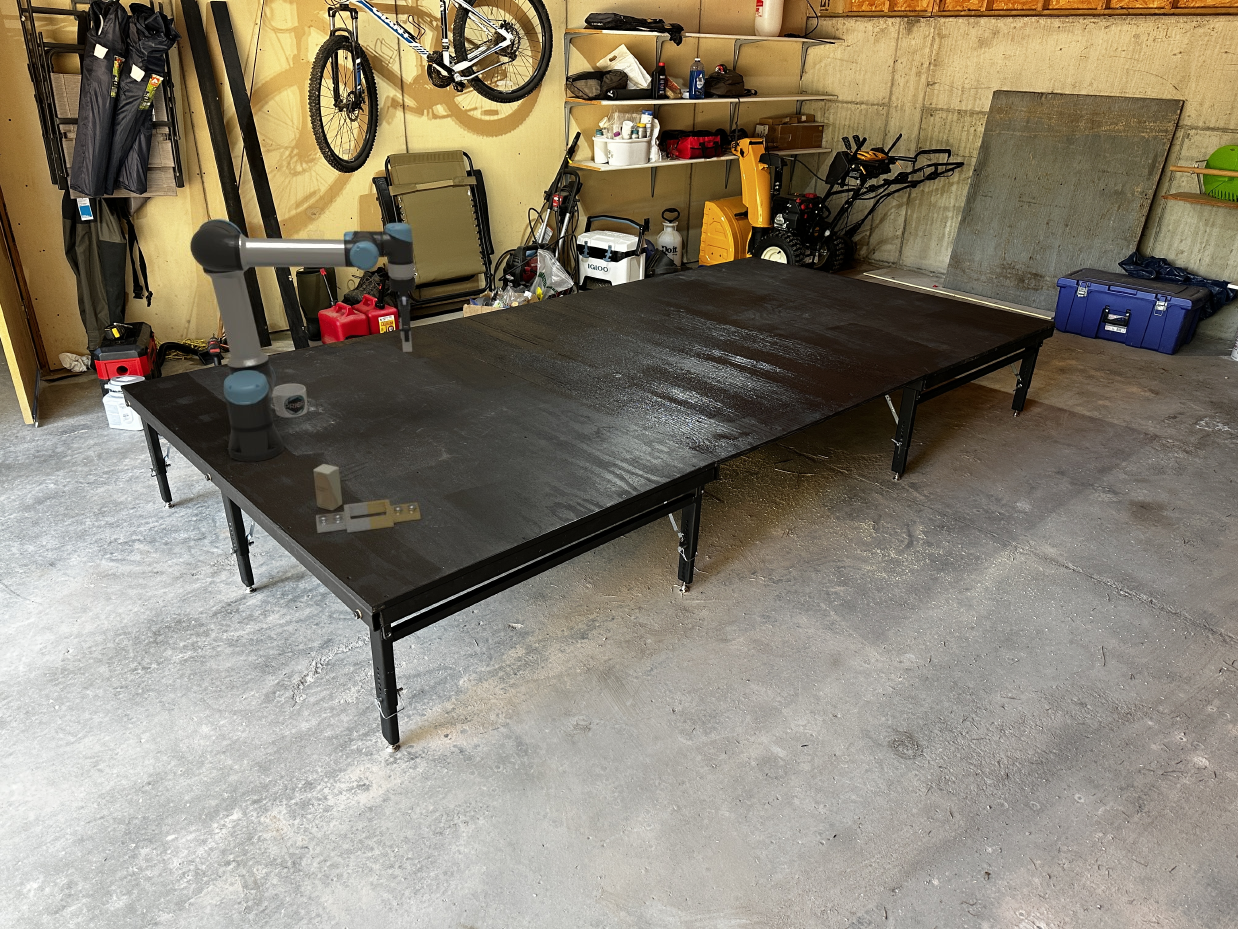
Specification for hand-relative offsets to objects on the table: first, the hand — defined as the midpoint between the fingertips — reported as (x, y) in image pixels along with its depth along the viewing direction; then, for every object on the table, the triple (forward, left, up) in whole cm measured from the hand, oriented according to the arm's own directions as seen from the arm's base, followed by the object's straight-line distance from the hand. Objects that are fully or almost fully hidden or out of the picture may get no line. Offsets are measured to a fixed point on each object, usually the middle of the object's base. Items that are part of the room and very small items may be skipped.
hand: (406, 344), depth 261 cm
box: (-28, -50, -27) cm, 63 cm away
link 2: (-13, -61, -27) cm, 67 cm away
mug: (-38, +18, -27) cm, 50 cm away
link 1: (-25, -61, -27) cm, 71 cm away
